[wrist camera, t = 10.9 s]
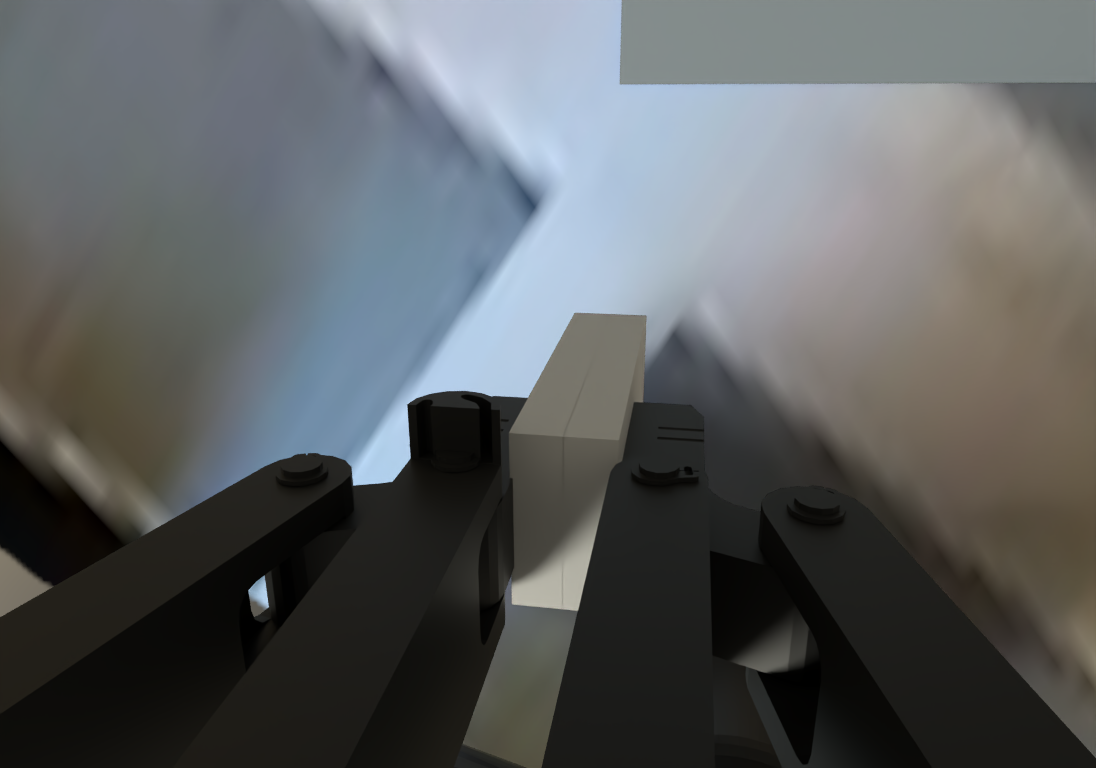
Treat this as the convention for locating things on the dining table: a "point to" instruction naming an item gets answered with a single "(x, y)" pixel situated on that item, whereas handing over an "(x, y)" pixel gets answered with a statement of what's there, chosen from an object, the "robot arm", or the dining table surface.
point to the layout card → (857, 41)
